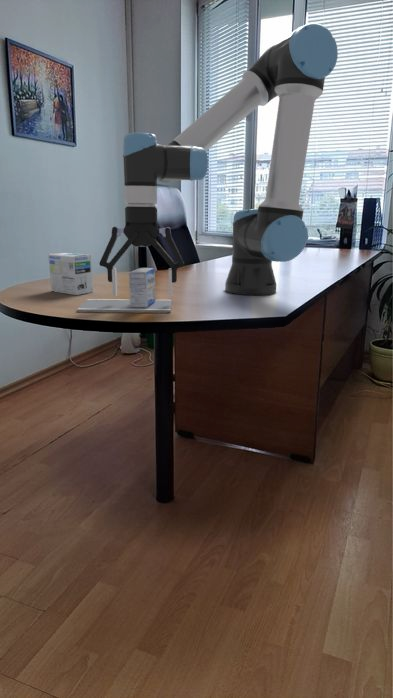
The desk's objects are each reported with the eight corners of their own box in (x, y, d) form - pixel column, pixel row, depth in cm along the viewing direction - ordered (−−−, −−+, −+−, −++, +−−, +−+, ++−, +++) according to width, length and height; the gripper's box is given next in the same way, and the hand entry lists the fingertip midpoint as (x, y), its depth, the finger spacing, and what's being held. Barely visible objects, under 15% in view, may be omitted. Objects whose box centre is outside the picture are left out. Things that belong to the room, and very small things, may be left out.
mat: (171, 302, 124) (171, 299, 124) (170, 312, 113) (170, 309, 113) (87, 301, 124) (87, 299, 124) (77, 312, 112) (77, 309, 112)
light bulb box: (94, 292, 137) (92, 254, 134) (76, 295, 132) (74, 256, 128) (67, 288, 142) (65, 251, 139) (50, 291, 137) (47, 253, 134)
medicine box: (147, 308, 114) (146, 272, 112) (129, 307, 115) (128, 271, 112) (155, 302, 122) (155, 267, 119) (138, 301, 122) (138, 267, 120)
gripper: (194, 206, 115) (193, 293, 121) (90, 204, 115) (94, 292, 121) (194, 206, 108) (193, 298, 114) (84, 205, 107) (89, 297, 114)
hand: (142, 295), depth 118 cm, fingers open, 13 cm apart
